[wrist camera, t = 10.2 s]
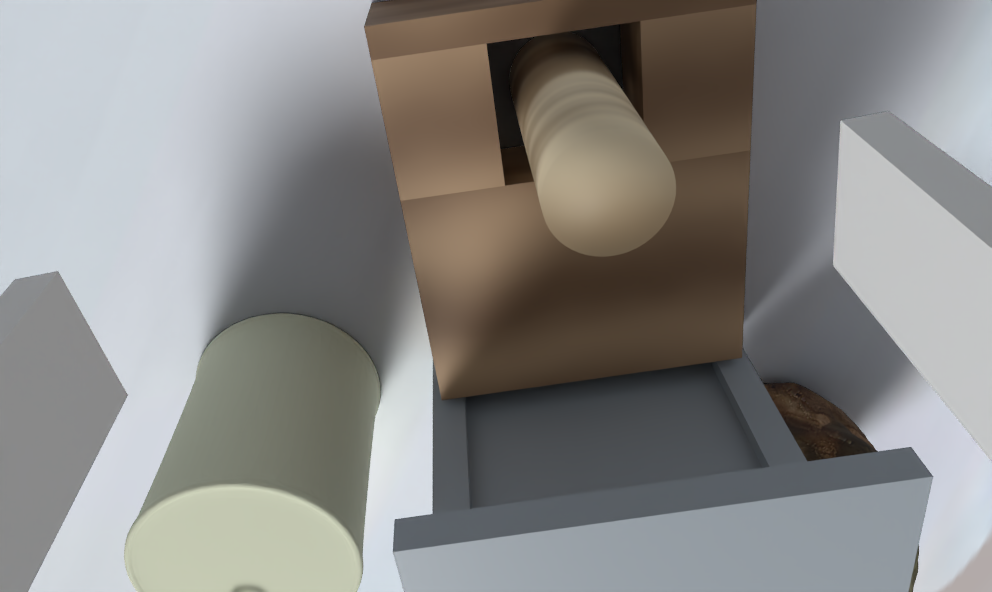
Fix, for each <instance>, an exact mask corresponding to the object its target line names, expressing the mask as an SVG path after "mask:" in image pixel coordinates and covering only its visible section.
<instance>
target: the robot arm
mask: <svg viewBox="0 0 992 592" xmlns="http://www.w3.org/2000/svg"><path fill="white" fill-rule="evenodd" d="M833 266H834V267H835V269H836V270H837V271H838V272H839V274H840V275H841V276H842V277H843V278H844V280H845V281H846V282H847V283H848V285H849V286H850V287H851V288H852V290H853V291H854V292H855V293H856V295H857V296H858V297H859V298H860V299H861V301H862V302H863V303H864V304H865V306H866V307H867V308H868V309H869V311H870V312H871V313H872V314H873V316H874V317H875V318H876V319H877V321H878V322H879V323H880V324H881V325H882V327H883V328H884V329H885V330H886V332H887V333H888V334H889V335H890V337H891V338H892V339H893V340H894V342H895V343H896V344H897V345H898V346H899V348H900V349H901V350H902V351H903V353H904V354H905V355H906V356H907V358H908V359H909V360H910V361H911V363H912V364H913V365H914V366H915V367H916V369H917V370H918V371H919V372H920V374H921V375H922V376H923V377H924V379H925V380H926V381H927V382H928V384H929V385H930V386H931V387H932V388H933V390H934V391H935V392H936V393H937V395H938V396H939V397H940V398H941V400H942V401H943V402H944V403H945V405H946V406H947V407H948V408H949V409H950V411H951V412H952V413H953V414H954V416H955V417H956V418H957V419H958V421H959V422H960V423H961V424H962V426H963V427H964V428H965V429H966V431H967V432H968V433H969V434H970V435H971V437H972V438H973V439H974V440H975V442H976V443H977V444H978V445H979V447H980V448H981V449H982V450H983V452H984V453H985V454H986V455H987V456H988V458H989V459H990V460H991V461H992V187H991V186H990V185H988V184H987V183H986V182H984V181H983V180H982V179H980V178H979V177H978V176H976V175H975V174H973V173H972V172H971V171H969V170H968V169H967V168H965V167H964V166H963V165H961V164H960V163H959V162H957V161H956V160H954V159H953V158H952V157H950V156H949V155H948V154H946V153H945V152H944V151H942V150H941V149H940V148H938V147H937V146H935V145H934V144H933V143H931V142H930V141H929V140H927V139H926V138H925V137H923V136H922V135H921V134H919V133H918V132H916V131H915V130H914V129H912V128H911V127H910V126H908V125H907V124H906V123H904V122H903V121H902V120H900V119H899V118H898V117H896V116H895V115H893V114H892V113H891V112H889V111H886V112H880V113H875V114H870V115H865V116H860V117H854V118H849V119H844V120H840V139H839V159H838V178H837V197H836V216H835V235H834V254H833ZM127 396H128V395H127V393H126V391H125V389H124V388H123V386H122V384H121V382H120V381H119V379H118V377H117V375H116V373H115V372H114V370H113V368H112V366H111V365H110V363H109V361H108V359H107V357H106V356H105V354H104V352H103V350H102V349H101V347H100V345H99V343H98V341H97V340H96V338H95V336H94V334H93V333H92V331H91V329H90V327H89V325H88V324H87V322H86V320H85V318H84V317H83V315H82V313H81V311H80V309H79V308H78V306H77V304H76V302H75V300H74V299H73V297H72V295H71V293H70V292H69V290H68V288H67V286H66V284H65V283H64V281H63V279H62V277H61V276H60V274H59V272H58V271H56V272H51V273H46V274H41V275H36V276H30V277H25V278H20V279H15V280H14V281H13V282H12V283H11V284H10V286H9V287H8V288H7V289H6V290H5V291H4V293H3V294H2V295H1V296H0V592H28V590H29V588H30V586H31V584H32V582H33V581H34V579H35V577H36V575H37V573H38V571H39V569H40V567H41V565H42V563H43V561H44V559H45V557H46V555H47V553H48V551H49V549H50V547H51V545H52V543H53V541H54V539H55V537H56V535H57V533H58V531H59V529H60V527H61V526H62V524H63V522H64V520H65V518H66V516H67V514H68V512H69V510H70V508H71V506H72V504H73V502H74V500H75V498H76V496H77V494H78V492H79V490H80V488H81V486H82V484H83V482H84V480H85V478H86V476H87V474H88V472H89V470H90V469H91V467H92V465H93V463H94V461H95V459H96V457H97V455H98V453H99V451H100V449H101V447H102V445H103V443H104V441H105V439H106V437H107V435H108V433H109V431H110V429H111V427H112V425H113V423H114V421H115V419H116V417H117V415H118V414H119V412H120V410H121V408H122V406H123V404H124V402H125V400H126V398H127Z"/></svg>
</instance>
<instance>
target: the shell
mask: <svg viewBox="0 0 992 592" xmlns="http://www.w3.org/2000/svg"><path fill="white" fill-rule="evenodd" d="M764 386H765V388H766V390H767V391H768V393H769V395H770V397H771V399H772V400H773V402H774V404H775V406H776V407H777V409H778V411H779V413H780V414H781V416H782V418H783V420H784V421H785V423H786V425H787V427H788V428H789V430H790V432H791V434H792V435H793V437H794V439H795V441H796V442H797V444H798V446H799V448H800V449H801V451H802V453H803V455H804V456H805V458H806V460H807V462H808V461H815V460H822V459H829V458H836V457H843V456H850V455H858V454H865V453H872V452H878V451H877V450H875V448H874V446H873V445H872V444H871V443H870V442H869V441H868V440H867V438H866V436H865V435H864V434H863V432H862V431H861V430H860V429H859V428H858V426H857V425H856V424H855V423H854V422H853V421H852V420H851V419H850V418H849V417H848V416H847V415H846V414H845V413H844V412H843V411H842V410H841V409H839V408H838V407H836V406H835V405H834V404H832V403H831V402H829V401H827V400H826V399H824V398H823V397H821V396H819V395H818V394H816V393H814V392H813V391H811V390H809V389H807V388H805V387H803V386H801V385H799V384H795V383H771V384H764ZM918 556H919V545H918V549H917V554H916V559H915V563H914V568H913V573H912V577H911V582H910V587H909V591H908V592H913V587H914V583H915V580H916V576H917V573H918Z"/></svg>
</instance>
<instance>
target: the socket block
mask: <svg viewBox="0 0 992 592" xmlns="http://www.w3.org/2000/svg"><path fill="white" fill-rule="evenodd" d="M756 2H757V0H389V1H382V2H376V3H372V4H371V7H370V10H369V13H368V16H367V19H366V23H365V26H364V28H365V33H366V38H367V42H368V47H369V52H370V57H371V62H372V66H373V71H374V76H375V81H376V86H377V91H378V95H379V100H380V105H381V110H382V115H383V119H384V124H385V129H386V134H387V139H388V144H389V148H390V153H391V158H392V163H393V168H394V173H395V177H396V182H397V187H398V192H399V197H400V201H401V206H402V211H403V216H404V221H405V226H406V230H407V235H408V240H409V245H410V250H411V254H412V259H413V264H414V269H415V274H416V279H417V283H418V288H419V293H420V298H421V303H422V308H423V312H424V317H425V322H426V327H427V332H428V336H429V341H430V346H431V351H432V356H433V361H434V365H435V370H436V375H437V380H438V385H439V389H440V394H441V399H442V400H448V399H455V398H462V397H469V396H476V395H483V394H490V393H497V392H504V391H511V390H519V389H526V388H533V387H540V386H547V385H554V384H561V383H568V382H575V381H582V380H589V379H596V378H603V377H610V376H617V375H624V374H631V373H638V372H645V371H653V370H660V369H667V368H674V367H681V366H688V365H695V364H702V363H709V362H716V361H723V360H730V359H737V358H742V347H743V322H744V297H745V273H746V248H747V224H748V199H749V174H750V150H751V125H752V101H753V76H754V51H755V27H756ZM617 24H620V36H621V58H622V80H623V92H624V93H625V95H626V96H627V98H628V99H629V101H630V102H631V104H632V105H633V107H634V108H635V110H636V111H637V113H638V114H639V116H640V117H641V119H642V120H643V122H644V123H645V125H646V126H647V128H648V130H649V131H650V133H651V134H652V136H653V137H654V139H655V140H656V142H657V143H658V145H659V146H660V148H661V149H662V151H663V152H664V154H665V155H666V157H667V158H668V160H669V162H670V163H671V166H672V168H673V171H674V175H675V180H676V196H675V201H674V205H673V208H672V211H671V213H670V215H669V217H668V219H667V220H666V222H665V224H664V225H663V226H662V228H661V229H660V230H659V231H658V232H657V233H656V234H655V235H654V236H653V237H652V238H651V239H650V240H648V241H647V242H646V243H644V244H643V245H641V246H639V247H638V248H636V249H633V250H631V251H629V252H626V253H623V254H619V255H614V256H606V257H599V256H589V255H585V254H581V253H578V252H576V251H574V250H571V249H570V248H568V247H566V246H565V245H563V244H562V243H561V242H560V241H559V240H558V239H557V238H556V237H555V236H554V235H553V234H552V232H551V231H550V230H549V228H548V226H547V224H546V222H545V219H544V216H543V213H542V209H541V205H540V202H539V198H538V194H537V190H536V187H535V183H534V179H533V175H532V171H531V168H530V164H529V160H528V156H527V153H526V149H525V145H524V146H517V147H510V148H503V149H500V143H499V136H498V128H497V120H496V113H495V105H494V98H493V90H492V82H491V75H490V67H489V60H488V52H487V43H494V42H501V41H508V40H514V39H521V38H528V37H535V36H542V35H549V34H555V33H562V32H569V31H576V30H583V29H590V28H597V27H603V26H610V25H617Z"/></svg>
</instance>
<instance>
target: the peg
mask: <svg viewBox="0 0 992 592" xmlns="http://www.w3.org/2000/svg"><path fill="white" fill-rule="evenodd" d="M509 87H510V92H511V96H512V100H513V104H514V107H515V111H516V115H517V119H518V122H519V126H520V130H521V134H522V138H523V141H524V145H525V149H526V153H527V156H528V160H529V164H530V168H531V171H532V175H533V179H534V183H535V187H536V190H537V194H538V198H539V202H540V205H541V209H542V213H543V216H544V219H545V222H546V224H547V226H548V228H549V230H550V231H551V232H552V234H553V235H554V236H555V237H556V238H557V239H558V240H559V241H560V242H561V243H562V244H563V245H565V246H566V247H568V248H570V249H571V250H574V251H576V252H578V253H581V254H585V255H589V256H599V257H606V256H614V255H619V254H623V253H626V252H629V251H631V250H633V249H636V248H638V247H639V246H641V245H643V244H644V243H646V242H647V241H648V240H650V239H651V238H652V237H653V236H654V235H655V234H656V233H657V232H658V231H659V230H660V229H661V228H662V226H663V225H664V224H665V222H666V220H667V219H668V217H669V215H670V213H671V211H672V208H673V205H674V201H675V196H676V180H675V175H674V171H673V168H672V166H671V163H670V162H669V160H668V158H667V157H666V155H665V154H664V152H663V151H662V149H661V148H660V146H659V145H658V143H657V142H656V140H655V139H654V137H653V136H652V134H651V133H650V131H649V130H648V128H647V126H646V125H645V123H644V122H643V120H642V119H641V117H640V116H639V114H638V113H637V111H636V110H635V108H634V107H633V105H632V104H631V102H630V101H629V99H628V98H627V96H626V95H625V93H624V92H623V90H622V89H621V87H620V86H619V84H618V83H617V81H616V80H615V78H614V77H613V75H612V74H611V72H610V71H609V69H608V68H607V66H606V65H605V63H604V62H603V60H602V59H601V57H600V55H599V54H598V52H597V51H596V49H595V48H594V47H593V46H592V45H591V44H590V43H589V42H588V41H587V40H586V39H584V38H583V37H581V36H579V35H577V34H574V33H571V32H562V33H555V34H549V35H542V36H536V37H534V38H533V39H531V40H530V41H528V42H527V43H526V44H525V45H524V46H523V47H522V48H521V49H520V51H519V52H518V53H517V55H516V57H515V59H514V61H513V63H512V66H511V69H510V74H509Z"/></svg>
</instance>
